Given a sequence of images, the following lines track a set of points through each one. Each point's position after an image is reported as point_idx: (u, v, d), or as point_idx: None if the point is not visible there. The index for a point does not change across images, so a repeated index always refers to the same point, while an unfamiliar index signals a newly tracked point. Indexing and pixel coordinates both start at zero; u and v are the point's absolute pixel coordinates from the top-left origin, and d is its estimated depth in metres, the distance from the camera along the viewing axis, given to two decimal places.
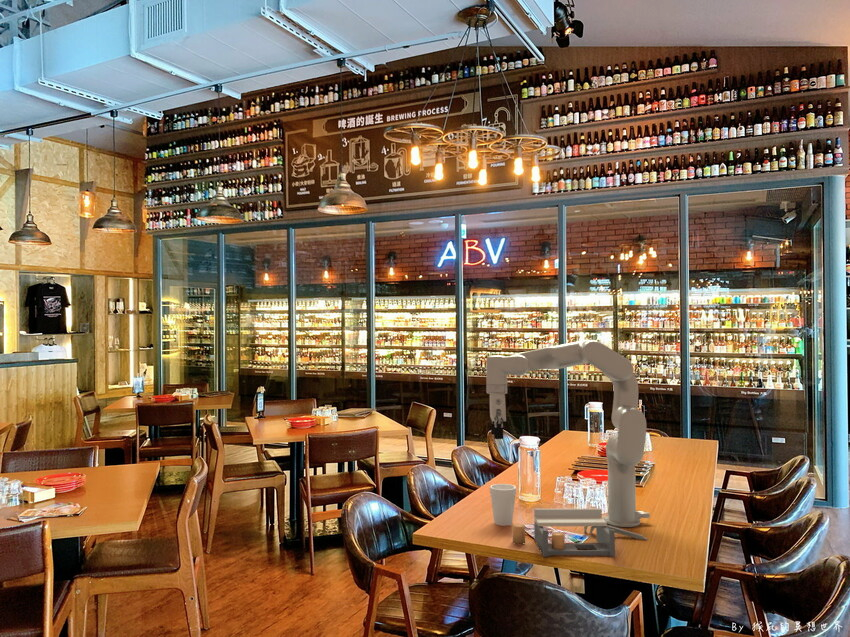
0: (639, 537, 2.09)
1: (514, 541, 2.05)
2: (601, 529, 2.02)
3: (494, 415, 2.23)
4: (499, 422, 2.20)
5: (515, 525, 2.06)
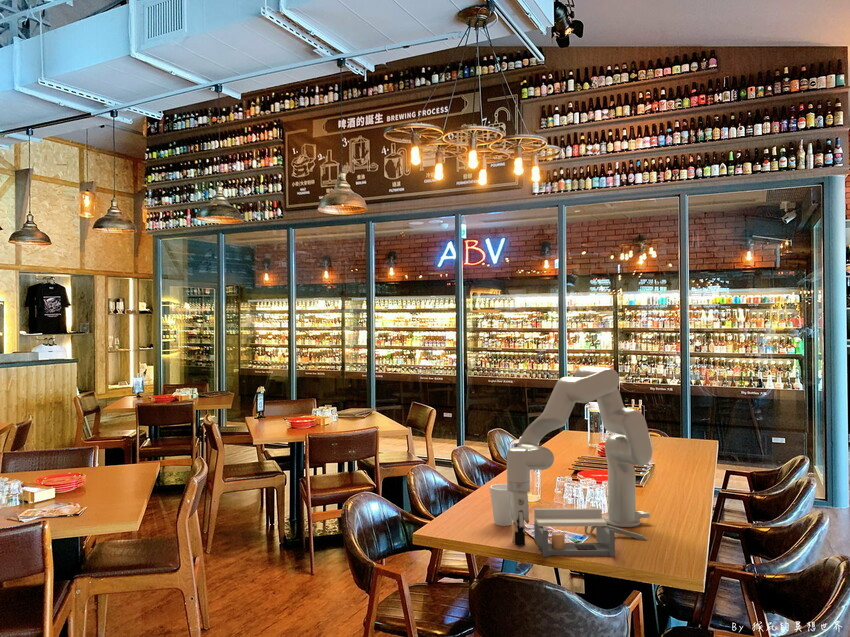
0: (639, 537, 2.09)
1: (514, 541, 2.05)
2: (601, 529, 2.02)
3: (516, 517, 2.01)
4: None
5: (515, 525, 2.06)
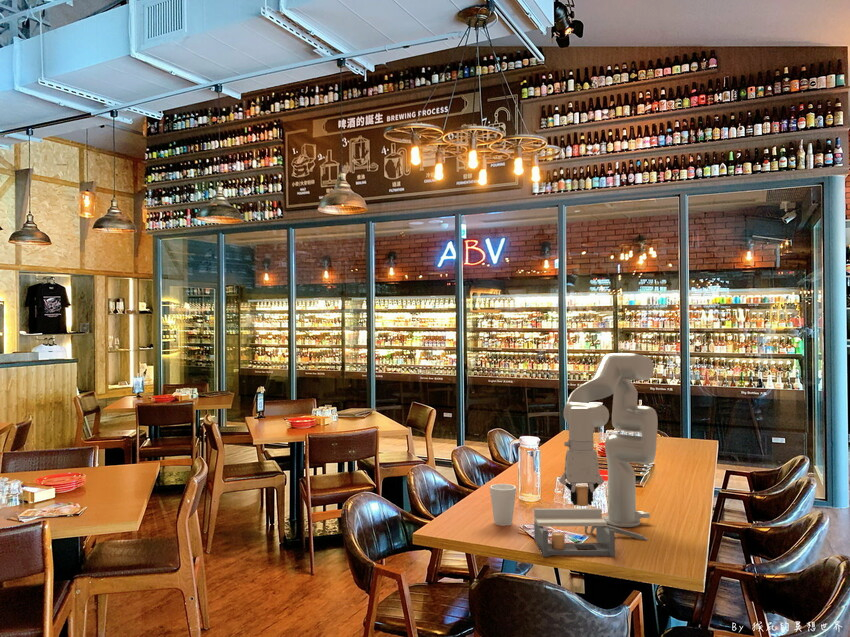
0: (639, 537, 2.09)
1: None
2: (601, 529, 2.02)
3: None
4: None
5: (581, 486, 1.99)
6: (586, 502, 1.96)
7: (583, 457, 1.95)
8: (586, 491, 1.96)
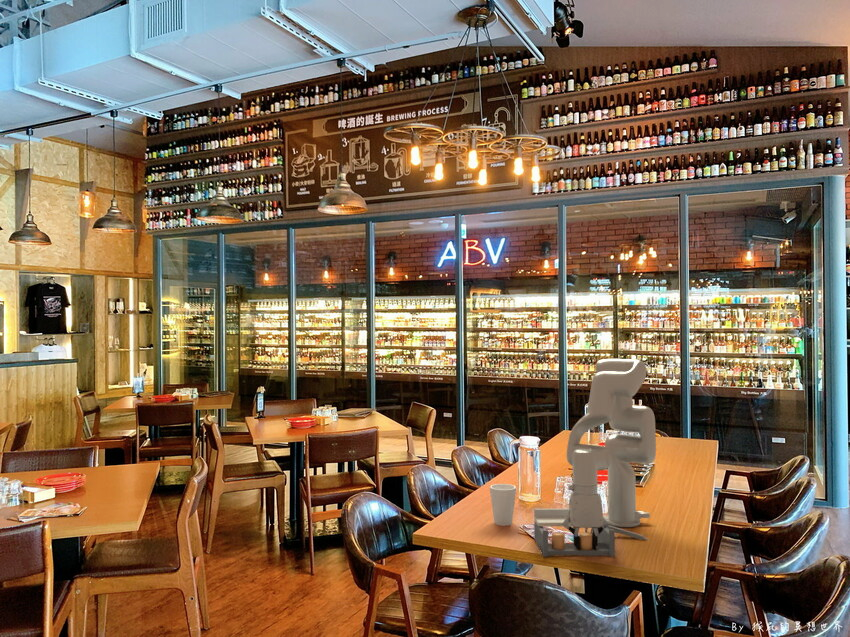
0: (640, 537, 2.09)
1: None
2: None
3: (568, 516, 1.98)
4: None
5: (585, 533, 1.98)
6: None
7: (587, 501, 1.94)
8: (590, 539, 1.95)
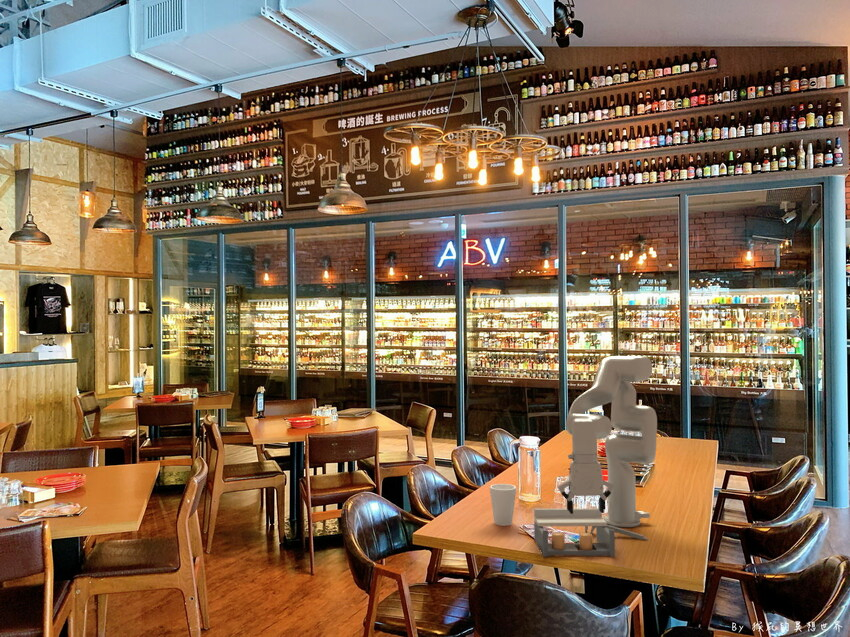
0: (640, 537, 2.09)
1: None
2: (601, 529, 2.02)
3: None
4: None
5: (585, 533, 1.98)
6: None
7: (587, 469, 1.95)
8: (590, 539, 1.95)
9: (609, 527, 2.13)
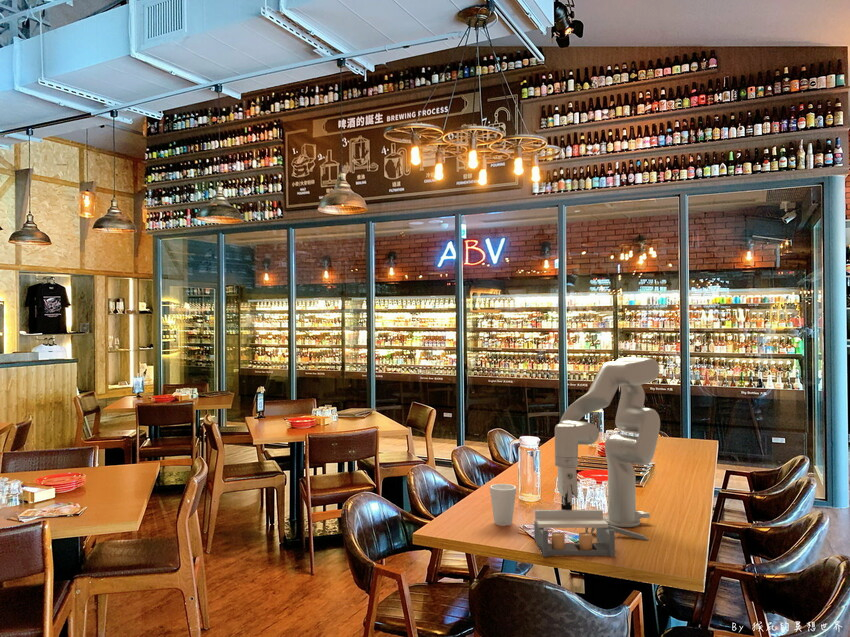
0: (640, 537, 2.09)
1: None
2: (601, 529, 2.02)
3: (565, 491, 2.04)
4: None
5: (585, 533, 1.98)
6: None
7: None
8: (590, 539, 1.95)
9: (609, 527, 2.13)
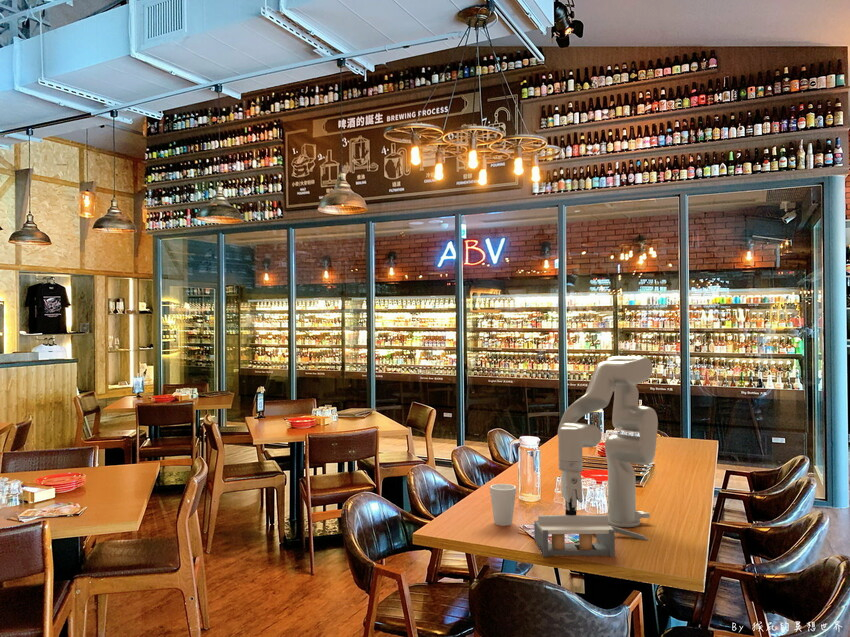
0: (640, 537, 2.09)
1: None
2: None
3: (569, 496, 1.98)
4: None
5: None
6: None
7: None
8: (590, 539, 1.95)
9: None
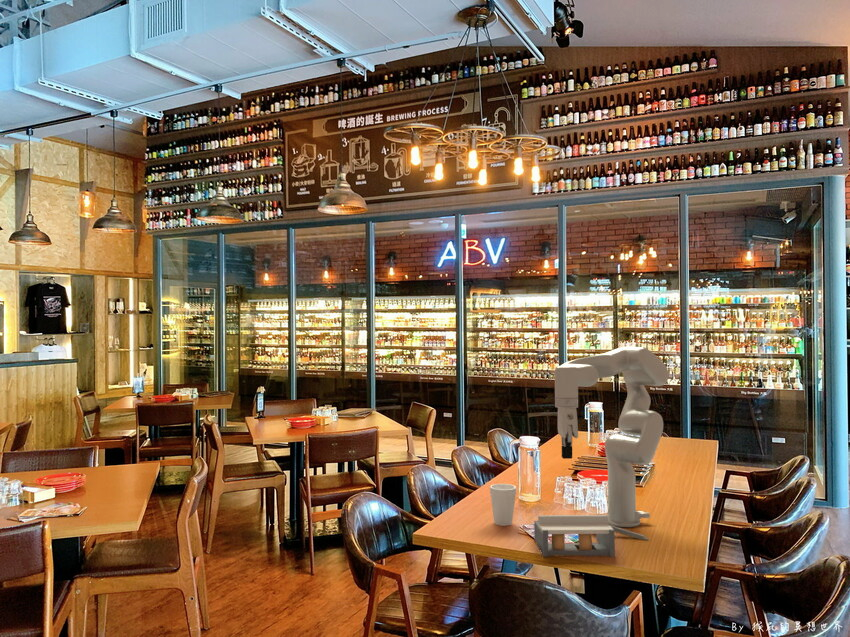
0: (640, 537, 2.09)
1: None
2: None
3: (565, 431, 2.04)
4: None
5: None
6: (591, 549, 1.96)
7: None
8: (591, 538, 1.96)
9: None
